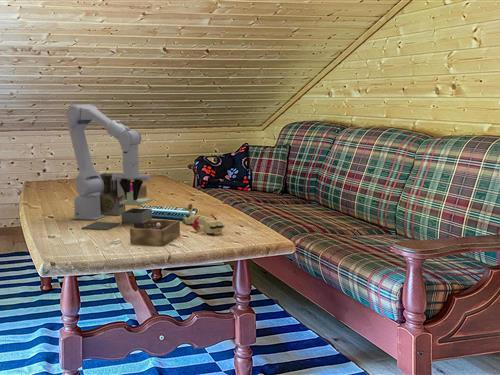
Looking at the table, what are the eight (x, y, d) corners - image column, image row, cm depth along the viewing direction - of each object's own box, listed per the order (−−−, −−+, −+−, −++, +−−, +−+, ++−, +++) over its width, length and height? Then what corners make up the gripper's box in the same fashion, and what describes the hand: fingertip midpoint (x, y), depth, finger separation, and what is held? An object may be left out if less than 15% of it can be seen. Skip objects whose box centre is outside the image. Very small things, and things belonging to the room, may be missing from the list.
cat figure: (177, 228, 228) (205, 236, 207) (175, 204, 228) (204, 210, 206) (201, 225, 233) (231, 232, 211) (200, 202, 232) (230, 207, 211)
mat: (81, 229, 221) (81, 227, 221) (95, 222, 231) (95, 221, 231) (107, 230, 219) (107, 229, 218) (120, 223, 229) (120, 222, 229)
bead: (134, 219, 235) (133, 212, 234) (137, 217, 237) (136, 210, 237) (140, 219, 234) (140, 212, 234) (143, 218, 237) (143, 210, 236)
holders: (121, 248, 193) (120, 233, 192) (99, 196, 290) (98, 186, 290) (188, 243, 199) (188, 228, 198) (144, 194, 297) (144, 183, 296)
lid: (119, 205, 228) (118, 192, 228) (131, 201, 239) (131, 189, 238) (140, 206, 226) (140, 193, 226) (152, 202, 237) (152, 190, 237)
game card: (133, 222, 200) (161, 221, 201) (134, 224, 205) (161, 223, 206) (133, 243, 198) (161, 242, 199) (134, 244, 204) (162, 243, 205)
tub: (121, 223, 230) (121, 212, 229) (132, 218, 240) (132, 208, 239) (141, 224, 228) (141, 213, 228) (151, 218, 238) (151, 208, 237)
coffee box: (126, 212, 251) (124, 173, 249) (118, 215, 245) (117, 175, 242) (105, 211, 253) (104, 172, 251) (98, 214, 247) (96, 174, 245)
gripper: (107, 163, 224) (109, 200, 227) (144, 164, 221) (145, 202, 223) (116, 161, 231) (117, 197, 233) (152, 162, 228) (153, 198, 230)
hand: (131, 199), depth 229 cm, fingers closed on lid, 2 cm apart
